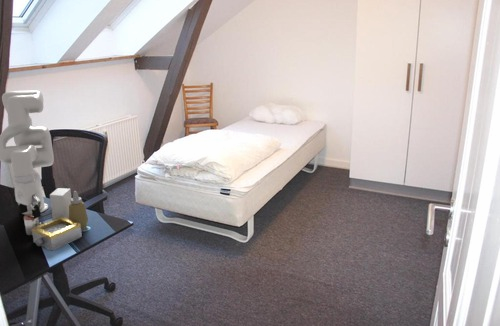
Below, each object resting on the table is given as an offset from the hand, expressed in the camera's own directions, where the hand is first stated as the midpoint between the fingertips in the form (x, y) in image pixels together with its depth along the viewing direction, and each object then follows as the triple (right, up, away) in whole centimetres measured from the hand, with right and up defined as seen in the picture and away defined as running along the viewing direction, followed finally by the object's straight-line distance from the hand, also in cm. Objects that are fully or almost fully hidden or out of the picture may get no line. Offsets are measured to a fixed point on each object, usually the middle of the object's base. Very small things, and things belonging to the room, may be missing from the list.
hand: (30, 214), depth 172 cm
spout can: (0, -8, +4) cm, 9 cm away
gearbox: (+13, -10, -2) cm, 17 cm away
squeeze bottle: (+18, -7, +9) cm, 21 cm away
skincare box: (+8, -5, +14) cm, 17 cm away
